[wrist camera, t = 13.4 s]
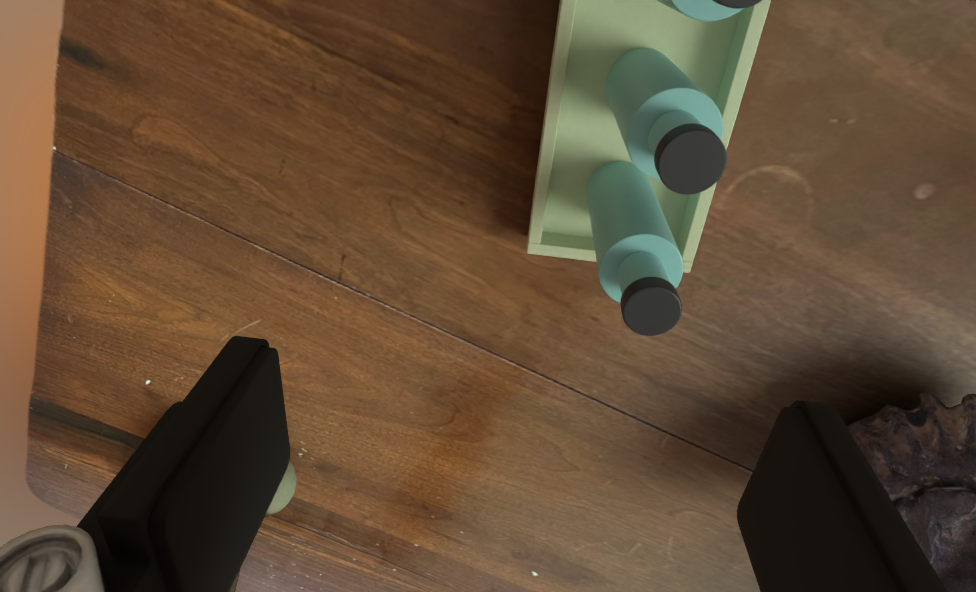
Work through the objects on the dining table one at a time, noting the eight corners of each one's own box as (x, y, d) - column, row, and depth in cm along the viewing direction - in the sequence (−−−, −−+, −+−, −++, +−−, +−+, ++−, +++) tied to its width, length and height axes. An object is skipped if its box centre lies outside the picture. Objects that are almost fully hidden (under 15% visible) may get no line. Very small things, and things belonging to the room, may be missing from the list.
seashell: (1027, 430, 46) (827, 350, 49) (1194, 447, 33) (911, 337, 36) (935, 675, 44) (735, 576, 48) (1072, 789, 32) (789, 645, 35)
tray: (580, -152, 30) (583, -160, 28) (792, -131, 30) (812, -137, 28) (527, 236, 41) (526, 253, 39) (682, 255, 41) (690, 273, 39)
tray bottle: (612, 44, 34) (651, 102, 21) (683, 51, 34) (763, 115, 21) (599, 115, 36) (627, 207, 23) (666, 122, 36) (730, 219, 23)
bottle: (592, 157, 37) (615, 265, 25) (656, 164, 37) (711, 277, 25) (581, 216, 39) (597, 344, 27) (642, 223, 39) (687, 355, 27)
